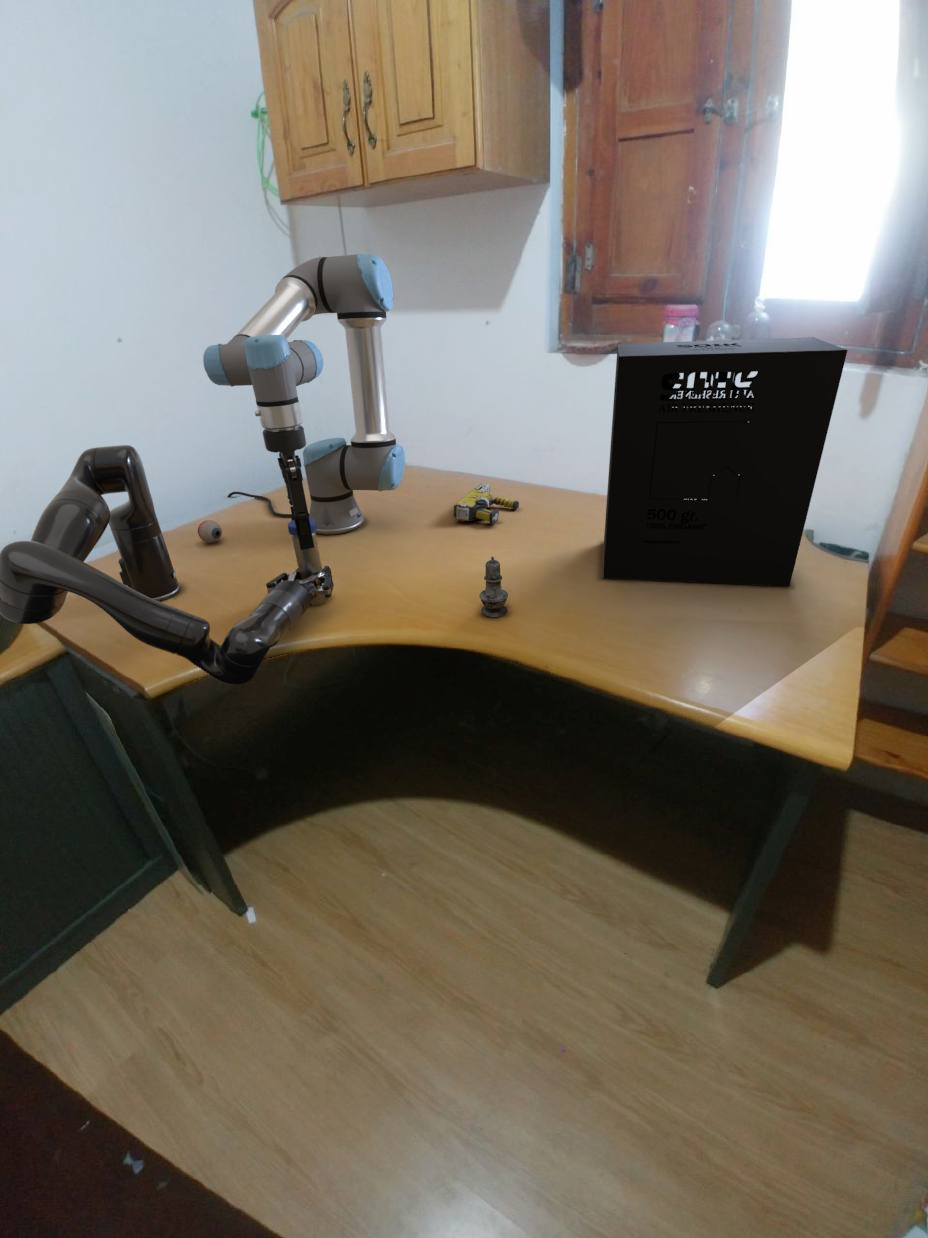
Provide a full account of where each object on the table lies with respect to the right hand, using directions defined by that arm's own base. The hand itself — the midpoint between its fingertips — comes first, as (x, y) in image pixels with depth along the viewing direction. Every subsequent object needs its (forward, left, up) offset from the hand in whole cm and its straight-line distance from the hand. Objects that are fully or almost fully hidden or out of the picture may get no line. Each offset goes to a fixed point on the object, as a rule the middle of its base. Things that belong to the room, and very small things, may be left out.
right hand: (305, 541), depth 124 cm
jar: (0, 0, -14) cm, 14 cm away
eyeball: (-51, -7, -14) cm, 53 cm away
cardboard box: (+41, +73, -14) cm, 85 cm away
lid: (0, 0, +4) cm, 4 cm away
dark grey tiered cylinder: (+29, +26, -14) cm, 41 cm away
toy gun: (-17, +62, -14) cm, 65 cm away
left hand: (-2, +2, -8) cm, 8 cm away
